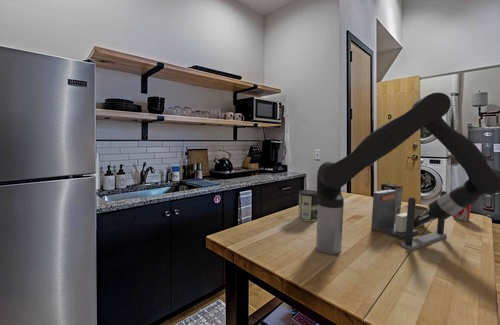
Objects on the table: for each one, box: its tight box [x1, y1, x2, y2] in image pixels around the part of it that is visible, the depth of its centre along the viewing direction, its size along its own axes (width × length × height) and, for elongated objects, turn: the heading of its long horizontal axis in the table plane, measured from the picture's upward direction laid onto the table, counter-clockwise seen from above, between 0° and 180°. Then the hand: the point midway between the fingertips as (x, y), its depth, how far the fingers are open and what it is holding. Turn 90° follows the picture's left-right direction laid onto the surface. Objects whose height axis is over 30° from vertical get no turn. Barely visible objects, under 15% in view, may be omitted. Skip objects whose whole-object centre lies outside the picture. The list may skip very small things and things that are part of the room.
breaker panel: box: [371, 190, 419, 240], centre depth 116 cm, size 14×13×18 cm
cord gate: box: [400, 190, 448, 251], centre depth 105 cm, size 4×27×20 cm, turn 120°
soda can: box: [451, 204, 472, 222], centre depth 135 cm, size 7×7×13 cm
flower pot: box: [406, 204, 429, 228], centre depth 126 cm, size 9×9×9 cm
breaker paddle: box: [394, 212, 407, 233], centre depth 113 cm, size 3×8×7 cm, turn 120°
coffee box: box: [380, 183, 403, 216], centre depth 145 cm, size 9×6×16 cm
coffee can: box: [298, 189, 318, 222], centre depth 133 cm, size 10×10×14 cm
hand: (411, 226), depth 111 cm, fingers closed
